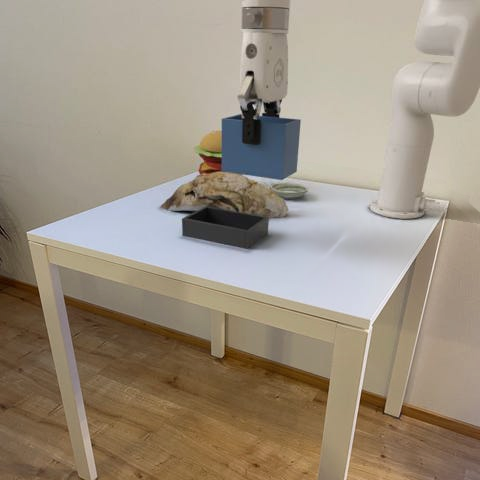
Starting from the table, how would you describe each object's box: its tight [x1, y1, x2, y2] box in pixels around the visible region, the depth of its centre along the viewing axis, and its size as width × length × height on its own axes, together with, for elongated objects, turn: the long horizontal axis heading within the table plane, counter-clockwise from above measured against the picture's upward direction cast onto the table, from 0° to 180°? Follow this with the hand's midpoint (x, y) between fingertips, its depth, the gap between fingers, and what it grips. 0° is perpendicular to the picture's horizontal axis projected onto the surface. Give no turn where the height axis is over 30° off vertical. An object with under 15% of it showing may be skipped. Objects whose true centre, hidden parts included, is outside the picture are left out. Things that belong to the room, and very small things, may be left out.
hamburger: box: [193, 129, 243, 175], centre depth 124 cm, size 16×14×15 cm
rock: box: [160, 172, 289, 219], centre depth 110 cm, size 16×10×30 cm
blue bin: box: [221, 113, 302, 181], centre depth 85 cm, size 12×7×9 cm, turn 63°
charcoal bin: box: [181, 206, 270, 250], centre depth 96 cm, size 15×10×4 cm, turn 64°
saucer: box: [270, 182, 309, 200], centre depth 123 cm, size 10×10×2 cm
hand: (260, 139), depth 85 cm, fingers closed on blue bin, 7 cm apart
